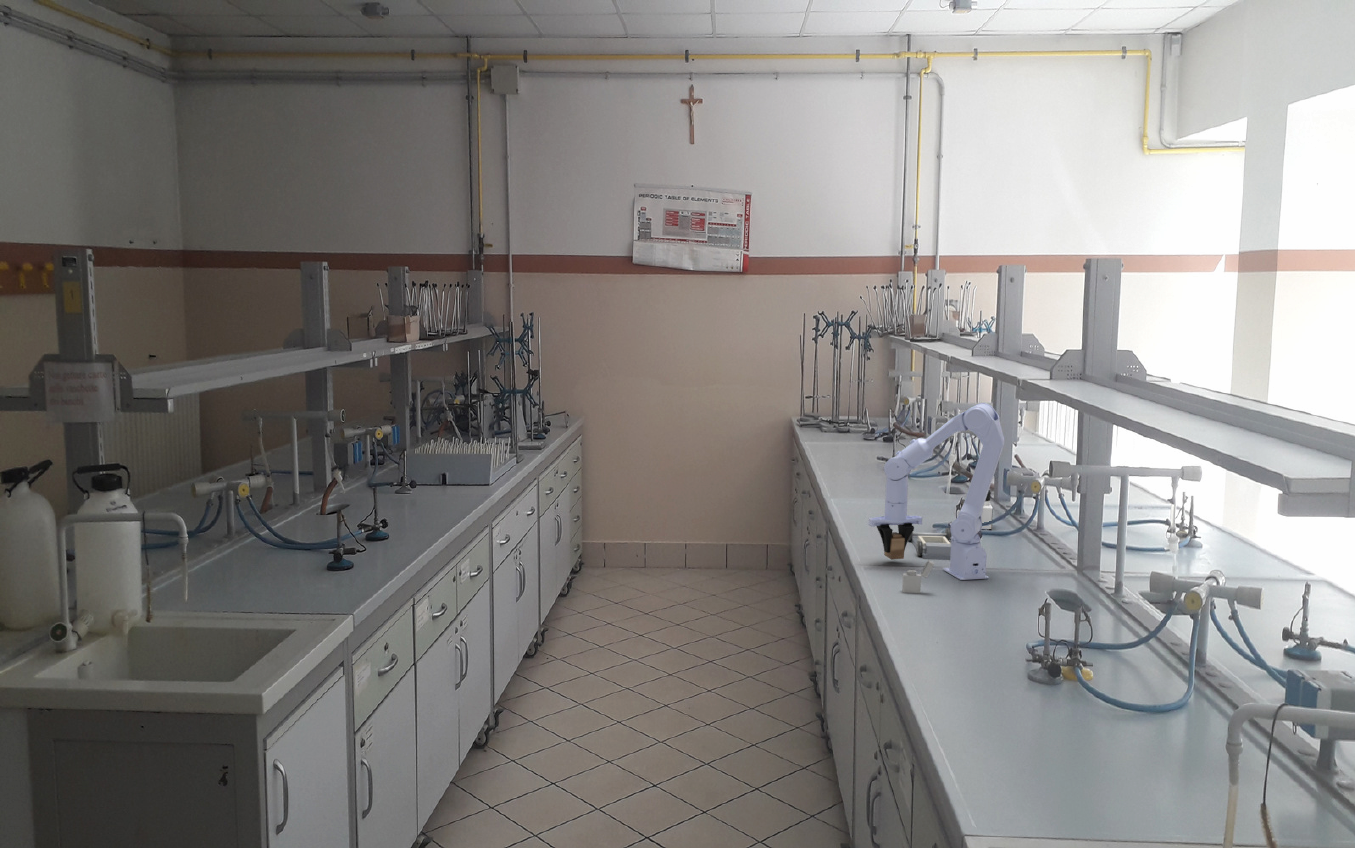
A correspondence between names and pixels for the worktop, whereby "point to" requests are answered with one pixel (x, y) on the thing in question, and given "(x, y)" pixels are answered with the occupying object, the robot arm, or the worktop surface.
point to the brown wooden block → (896, 546)
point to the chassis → (932, 544)
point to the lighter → (915, 579)
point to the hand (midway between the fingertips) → (894, 551)
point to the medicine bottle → (987, 511)
